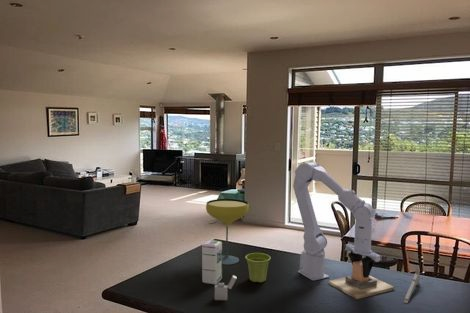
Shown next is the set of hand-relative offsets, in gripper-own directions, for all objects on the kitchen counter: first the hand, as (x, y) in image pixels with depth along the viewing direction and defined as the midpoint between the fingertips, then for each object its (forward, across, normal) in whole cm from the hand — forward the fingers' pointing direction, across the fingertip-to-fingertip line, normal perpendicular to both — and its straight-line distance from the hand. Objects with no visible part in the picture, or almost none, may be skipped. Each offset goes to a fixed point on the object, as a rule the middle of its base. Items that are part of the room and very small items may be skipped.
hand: (361, 274), depth 133 cm
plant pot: (+5, -22, -31) cm, 38 cm away
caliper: (+5, +11, +13) cm, 18 cm away
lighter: (+5, -12, -49) cm, 50 cm away
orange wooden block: (+3, 0, 0) cm, 3 cm away
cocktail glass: (+5, -44, -32) cm, 55 cm away
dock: (+4, 0, 0) cm, 4 cm away
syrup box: (+5, -28, -46) cm, 54 cm away
